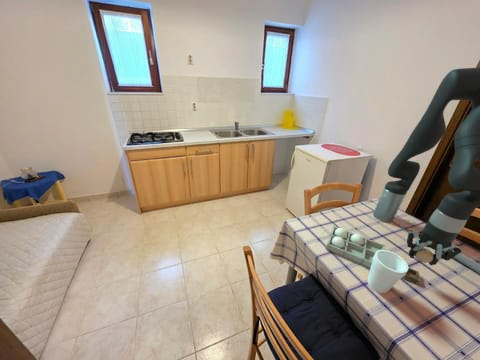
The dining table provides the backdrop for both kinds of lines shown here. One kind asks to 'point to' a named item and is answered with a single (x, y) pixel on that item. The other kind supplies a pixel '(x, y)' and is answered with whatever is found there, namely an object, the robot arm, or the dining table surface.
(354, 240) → the cream egg
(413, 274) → the egg stand
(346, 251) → the egg carton
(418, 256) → the beige sphere
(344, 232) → the cream egg
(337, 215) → the dining table surface
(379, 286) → the foam cup
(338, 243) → the cream egg
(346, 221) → the dining table surface
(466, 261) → the kitchen whisk
